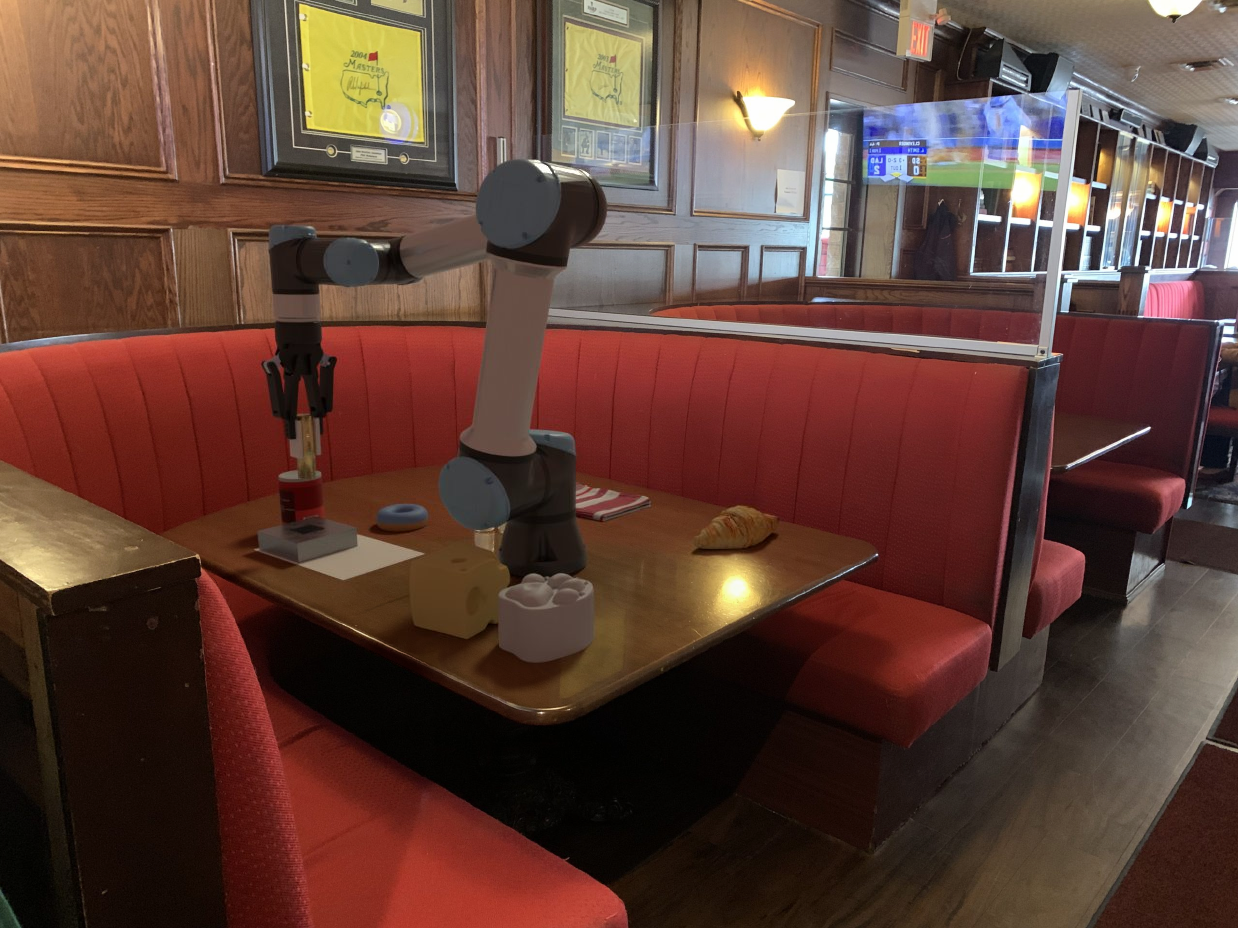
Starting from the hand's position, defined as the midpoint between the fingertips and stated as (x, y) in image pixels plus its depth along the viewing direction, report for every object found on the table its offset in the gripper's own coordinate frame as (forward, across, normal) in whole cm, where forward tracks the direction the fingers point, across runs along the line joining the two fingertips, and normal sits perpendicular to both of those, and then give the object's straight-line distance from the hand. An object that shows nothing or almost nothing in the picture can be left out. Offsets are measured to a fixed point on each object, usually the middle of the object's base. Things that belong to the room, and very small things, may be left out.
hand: (305, 455), depth 156 cm
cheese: (+17, +6, +46) cm, 49 cm away
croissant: (+16, -52, +57) cm, 79 cm away
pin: (+4, 0, 0) cm, 4 cm away
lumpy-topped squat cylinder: (+16, +3, +60) cm, 63 cm away
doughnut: (+18, -19, +1) cm, 26 cm away
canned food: (+18, -6, -12) cm, 22 cm away
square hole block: (+17, 0, 0) cm, 17 cm away
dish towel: (+18, -55, +18) cm, 60 cm away
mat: (+17, -2, +6) cm, 18 cm away
